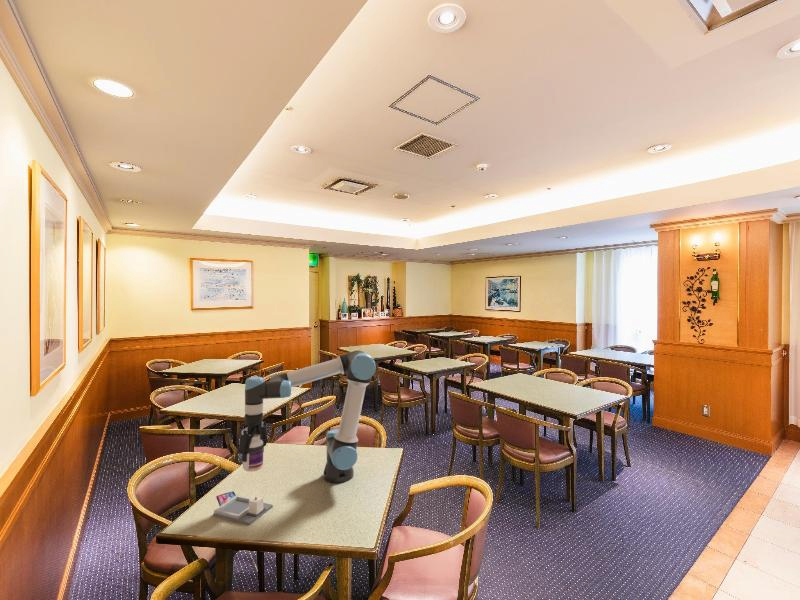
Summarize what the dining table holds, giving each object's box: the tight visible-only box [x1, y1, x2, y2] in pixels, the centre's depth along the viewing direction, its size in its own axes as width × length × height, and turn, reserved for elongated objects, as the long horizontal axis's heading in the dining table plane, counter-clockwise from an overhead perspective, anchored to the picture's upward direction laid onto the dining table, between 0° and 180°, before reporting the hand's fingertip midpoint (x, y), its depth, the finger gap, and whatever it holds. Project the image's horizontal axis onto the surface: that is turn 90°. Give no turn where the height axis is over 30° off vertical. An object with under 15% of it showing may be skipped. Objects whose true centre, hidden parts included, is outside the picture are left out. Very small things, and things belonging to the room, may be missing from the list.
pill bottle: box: [243, 434, 264, 472], centre depth 170 cm, size 8×8×14 cm
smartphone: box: [216, 491, 237, 507], centre depth 173 cm, size 8×1×15 cm
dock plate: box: [212, 495, 274, 526], centre depth 163 cm, size 19×14×7 cm
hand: (253, 464), depth 170 cm, fingers closed on pill bottle, 8 cm apart
